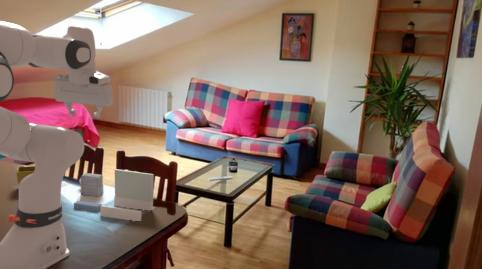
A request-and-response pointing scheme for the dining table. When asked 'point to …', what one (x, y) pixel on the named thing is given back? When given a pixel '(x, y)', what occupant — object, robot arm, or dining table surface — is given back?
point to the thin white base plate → (126, 213)
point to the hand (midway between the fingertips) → (84, 116)
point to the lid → (134, 185)
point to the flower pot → (24, 172)
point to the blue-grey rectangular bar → (87, 206)
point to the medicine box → (91, 184)
